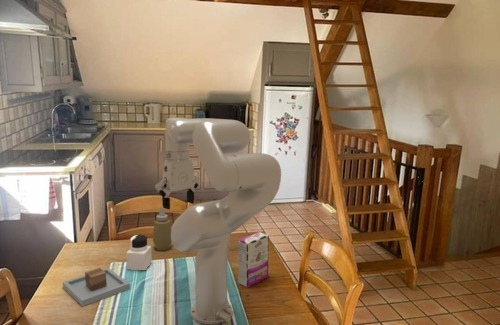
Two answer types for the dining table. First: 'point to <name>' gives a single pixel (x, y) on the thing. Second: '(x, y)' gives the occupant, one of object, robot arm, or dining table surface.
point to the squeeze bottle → (162, 231)
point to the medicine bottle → (139, 253)
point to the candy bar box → (253, 259)
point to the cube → (95, 279)
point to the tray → (87, 296)
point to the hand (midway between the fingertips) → (178, 205)
